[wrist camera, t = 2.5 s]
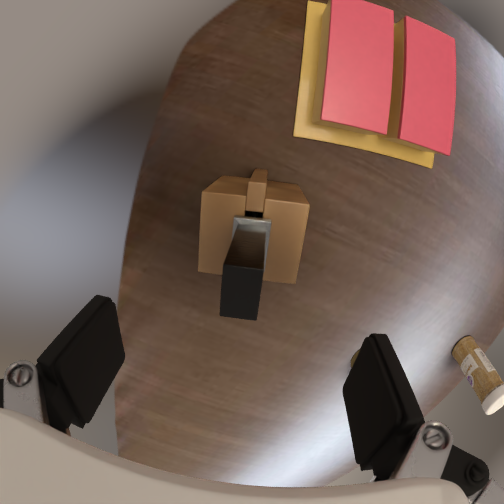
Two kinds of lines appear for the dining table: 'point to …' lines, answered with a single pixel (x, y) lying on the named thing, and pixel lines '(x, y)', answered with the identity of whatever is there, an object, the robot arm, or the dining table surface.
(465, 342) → the sprinkles bottle
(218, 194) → the knife block
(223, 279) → the knife
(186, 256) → the dining table surface
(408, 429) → the robot arm
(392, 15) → the cake
